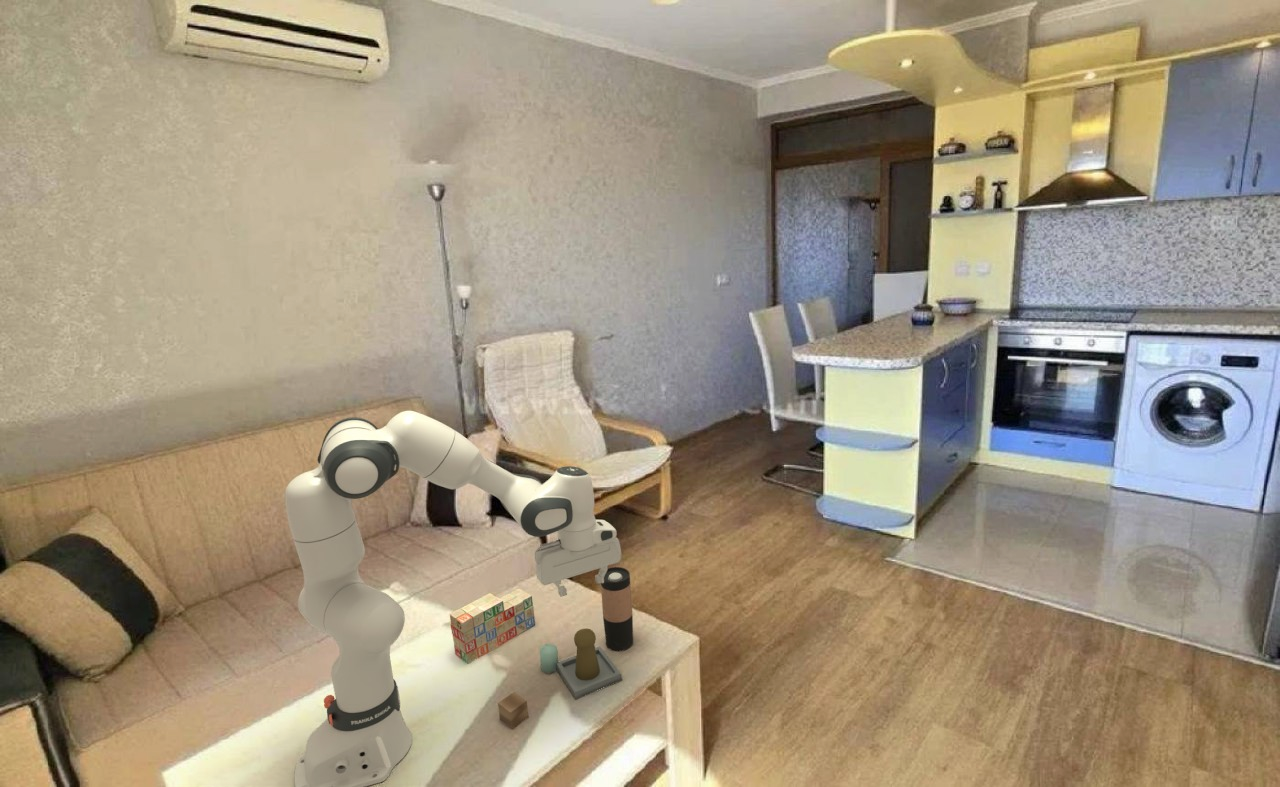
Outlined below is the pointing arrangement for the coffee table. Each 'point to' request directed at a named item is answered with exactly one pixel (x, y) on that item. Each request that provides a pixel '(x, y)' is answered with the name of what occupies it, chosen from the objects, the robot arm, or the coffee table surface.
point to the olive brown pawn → (586, 655)
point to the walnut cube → (513, 710)
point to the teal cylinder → (548, 658)
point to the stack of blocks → (490, 623)
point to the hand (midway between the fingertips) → (581, 588)
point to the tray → (585, 687)
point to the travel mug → (617, 609)
